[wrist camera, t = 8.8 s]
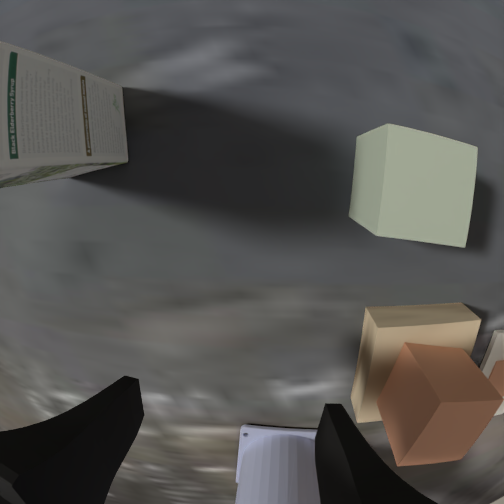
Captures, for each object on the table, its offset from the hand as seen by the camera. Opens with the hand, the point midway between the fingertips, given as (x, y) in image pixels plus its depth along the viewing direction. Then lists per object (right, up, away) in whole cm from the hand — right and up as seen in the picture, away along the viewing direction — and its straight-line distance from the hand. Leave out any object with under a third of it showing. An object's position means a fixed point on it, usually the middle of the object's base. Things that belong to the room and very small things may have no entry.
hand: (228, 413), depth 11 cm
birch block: (+13, -1, +11) cm, 17 cm away
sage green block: (+10, +11, +7) cm, 16 cm away
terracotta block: (+12, -2, +7) cm, 14 cm away
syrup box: (-10, +14, +8) cm, 19 cm away
